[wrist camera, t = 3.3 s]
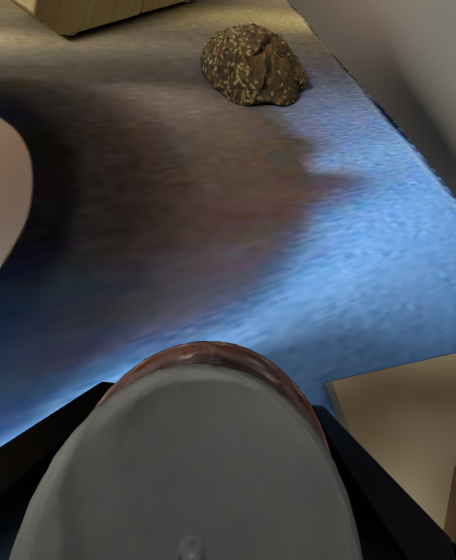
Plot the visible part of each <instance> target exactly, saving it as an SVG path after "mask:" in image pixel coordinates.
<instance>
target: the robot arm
mask: <svg viewBox="0 0 456 560" xmlns="http://www.w3.org/2000/svg"><path fill="white" fill-rule="evenodd" d="M114 384H115V383H110V382H101V383H99V384H97V385H96V386H94V387H93V388H91V389H90V390H88V391H87V392H85V393H83V394H82V395H80V396H79V397H77V398H76V399H74V400H73V401H71V402H69V403H68V404H66V405H65V406H63V407H62V408H60V409H59V410H57V411H55V412H54V413H52V414H51V415H49V416H48V417H46V418H45V419H43V420H42V421H40V422H38V423H37V424H35V425H34V426H32V427H31V428H29V429H28V430H26V431H24V432H23V433H21V434H20V435H18V436H17V437H15V438H14V439H12V440H10V441H9V442H7V443H6V444H4V445H3V446H1V447H0V560H9V557H10V554H11V551H12V548H13V545H14V542H15V539H16V537H17V534H18V532H19V530H20V527H21V525H22V522H23V519H24V516H25V513H26V510H27V508H28V505H29V502H30V500H31V498H32V496H33V494H34V493H35V491H36V489H37V487H38V485H39V483H40V481H41V479H42V478H43V476H44V474H45V473H46V471H47V470H48V468H49V466H50V464H51V462H52V460H53V458H54V456H55V455H56V454H57V452H58V451H59V450H60V448H61V447H62V446H63V445H64V443H65V442H66V441H67V439H68V438H69V437H70V435H71V434H72V433H73V431H74V430H75V429H76V428H77V427H78V426H79V425H80V424H81V423H82V422H83V421H84V420H85V419H86V418H87V417H88V416H89V415H90V413H91V412H92V411H93V409H94V408H95V407H96V405H97V404H98V402H99V401H100V400H101V399H102V397H103V396H104V395H105V393H106V392H107V391H108V390H109V389H110V388H111V387H112V386H113V385H114ZM311 406H312V408H313V410H314V412H315V414H316V416H317V419H318V420H319V421H320V424H321V427H322V429H323V432H324V434H325V437H326V441H327V445H328V447H329V451H330V453H331V457H332V459H333V460H334V462H335V464H336V467H337V469H338V472H339V475H340V477H341V479H342V482H343V484H344V486H345V489H346V491H347V494H348V497H349V500H350V504H351V508H352V511H353V515H354V519H355V523H356V526H357V530H358V534H359V540H360V546H361V552H362V558H363V560H456V543H455V542H452V541H451V538H450V537H449V536H448V535H447V534H446V533H445V532H444V530H443V529H442V528H441V527H440V526H439V525H438V524H437V523H436V522H435V521H434V520H433V519H432V518H431V517H430V516H429V515H428V514H427V513H426V512H425V511H424V510H423V509H422V508H421V507H420V506H419V505H418V504H417V503H416V502H415V500H414V499H413V498H412V497H411V496H410V495H409V494H408V493H407V492H406V491H405V490H404V489H403V488H402V487H401V486H400V485H399V484H398V483H397V482H396V481H395V480H394V479H393V478H392V477H391V476H390V475H389V474H388V473H387V471H386V470H385V469H384V468H383V467H382V466H381V465H380V464H379V463H378V462H377V461H376V460H375V459H374V458H373V457H372V456H371V455H370V454H369V453H368V452H367V451H366V450H365V449H364V448H363V447H362V446H361V445H360V444H359V443H358V441H357V440H356V439H355V438H354V437H353V436H352V435H351V434H350V433H349V432H348V431H347V430H346V429H345V428H344V427H343V426H342V425H341V424H340V423H339V422H338V421H337V420H336V419H335V418H334V417H333V416H332V415H331V414H330V413H329V411H328V410H327V409H326V408H325V407H323V406H319V405H311Z"/></svg>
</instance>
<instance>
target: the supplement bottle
mask: <svg viewBox="0 0 456 560" xmlns="http://www.w3.org/2000/svg"><path fill="white" fill-rule="evenodd" d="M9 560H363V558H362V552H361V546H360V540H359V534H358V530H357V526H356V523H355V519H354V515H353V511H352V508H351V504H350V500H349V497H348V494H347V491H346V489H345V486H344V484H343V482H342V479H341V477H340V475H339V472H338V469H337V467H336V464H335V462H334V460H333V459H332V457H331V453H330V451H329V447H328V445H327V441H326V437H325V434H324V432H323V429H322V427H321V424H320V421H319V420H318V419H317V416H316V414H315V412H314V410H313V408H312V406H311V405H310V402H309V401H308V400H307V399H306V398H305V396H304V395H303V393H302V392H301V390H300V389H299V387H298V386H297V385H296V384H295V383H294V382H293V381H292V380H291V379H290V378H289V377H288V376H287V375H286V374H285V373H284V372H283V371H282V370H281V369H280V368H278V367H277V366H276V365H275V364H274V363H272V362H270V361H269V360H268V359H266V358H265V357H263V356H262V355H260V354H258V353H256V352H254V351H252V350H250V349H248V348H245V347H242V346H239V345H236V344H231V343H226V342H220V341H196V342H190V343H186V344H179V345H176V346H174V347H171V348H168V349H165V350H162V351H160V352H158V353H156V354H154V355H152V356H150V357H149V358H146V359H144V360H143V361H142V362H140V363H139V364H138V365H136V366H134V367H133V368H132V369H131V370H129V371H128V372H127V373H126V374H125V375H123V376H122V377H121V378H120V380H119V381H117V382H116V383H115V384H114V385H113V386H112V387H111V388H110V389H109V390H108V391H107V392H106V393H105V395H104V396H103V397H102V399H101V400H100V401H99V402H98V404H97V405H96V407H95V408H94V409H93V411H92V412H91V413H90V415H89V416H88V417H87V418H86V419H85V420H84V421H83V422H82V423H81V424H80V425H79V426H78V427H77V428H76V429H75V430H74V431H73V433H72V434H71V435H70V437H69V438H68V439H67V441H66V442H65V443H64V445H63V446H62V447H61V448H60V450H59V451H58V452H57V454H56V455H55V456H54V458H53V460H52V462H51V464H50V466H49V468H48V470H47V471H46V473H45V474H44V476H43V478H42V479H41V481H40V483H39V485H38V487H37V489H36V491H35V493H34V494H33V496H32V498H31V500H30V502H29V505H28V508H27V510H26V513H25V516H24V519H23V522H22V525H21V527H20V530H19V532H18V534H17V537H16V539H15V542H14V545H13V548H12V551H11V554H10V557H9Z"/></svg>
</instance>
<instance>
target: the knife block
mask: <svg viewBox="0 0 456 560" xmlns="http://www.w3.org/2000/svg"><path fill="white" fill-rule="evenodd" d="M11 1H12V2H14V3H15V4H16V5H18V6H19V7H20V8H22V9H23V10H25V11H26V12H27V13H29V14H30V15H32V16H33V17H35V18H36V19H37V20H39V21H40V22H42V23H43V24H44V25H46V26H47V27H49V28H50V29H52V30H53V31H55V32H57V33H58V34H60V35H67V36H73V35H76V34H77V32H80V31H84V30H87V29H91V28H94V27H97V26H101V25H104V24H108V23H111V22H115V21H118V20H122V19H125V18H129V17H132V16H135V15H138V14H139V13H143V12H147V11H151V10H154V9H158V8H162V7H165V6H169V5H173V4H176V3H180V2H184V3H188V2H190V0H11Z"/></svg>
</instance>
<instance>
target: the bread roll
mask: <svg viewBox="0 0 456 560" xmlns="http://www.w3.org/2000/svg"><path fill="white" fill-rule="evenodd" d="M200 62H201V68H202V73H203V75H204V76H205V78H206V79H207V80H208V81H209V83H210V86H211V87H212V88H213V89H215V90H217V91H219V92H221V94H222V95H224V96H225V97H226V98H227V99H228V100H229V101H231V102H233V103H236V104H238V105H242V106H248V105H253V104H260V103H263V102H267V103H274V104H276V105H277V106H289V105H292V104H293V103H294V102H295V101H296V99H297V97H298V92H299V91H302V90H303V89H304V88H305V87H306V84H307V83H306V82H307V80H308V76H307V75H306V74H305V71H304V69H303V67H302V65H301V64H300V63H299V62H298V57H297V56H296V55H294V53H293V52H292V50H291V49H290V47H289V46H288V43H287V40H285V39H283V37H282V35H281V34H280V33H273V32H272V31H270V30H269V29H267V28H265V27H261V26H257V25H256V24H254V23H253V24H250V25H244V24H243V25H239V26H237V27H235V26H233V27H230V28H227V29H226V30H223V32H220V31H219V32H218V31H217V32H215V35H214V37H213V38H210V39H209V40H208V42H206V43H205V45H204V47H203V50H202V53H201V58H200Z"/></svg>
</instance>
